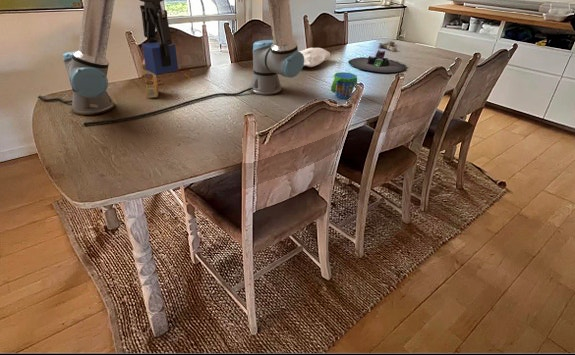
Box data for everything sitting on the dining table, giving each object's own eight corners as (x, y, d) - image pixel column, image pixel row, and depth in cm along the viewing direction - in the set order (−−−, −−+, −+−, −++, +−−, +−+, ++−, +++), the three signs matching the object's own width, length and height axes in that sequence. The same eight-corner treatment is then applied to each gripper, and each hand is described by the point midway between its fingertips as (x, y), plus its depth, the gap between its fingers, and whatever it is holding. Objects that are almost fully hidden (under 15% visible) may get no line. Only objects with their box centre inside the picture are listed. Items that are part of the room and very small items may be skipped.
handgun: (406, 44, 264) (388, 40, 272) (394, 47, 252) (376, 43, 260) (405, 48, 265) (387, 44, 273) (394, 52, 254) (375, 47, 262)
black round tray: (418, 67, 219) (420, 52, 215) (377, 75, 202) (379, 59, 197) (375, 58, 244) (377, 43, 239) (336, 64, 226) (337, 49, 222)
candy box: (157, 97, 164) (152, 63, 155) (147, 98, 163) (141, 63, 155) (158, 91, 171) (153, 57, 163) (149, 91, 170) (143, 58, 162)
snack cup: (348, 90, 181) (350, 70, 176) (362, 97, 174) (365, 76, 168) (323, 95, 174) (325, 74, 168) (337, 102, 166) (340, 80, 161)
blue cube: (156, 75, 119) (151, 48, 114) (146, 69, 123) (141, 43, 119) (178, 70, 124) (175, 44, 119) (168, 65, 128) (164, 40, 123)
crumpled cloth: (269, 61, 216) (271, 46, 210) (311, 52, 236) (313, 38, 230) (296, 77, 203) (298, 61, 198) (337, 66, 223) (341, 52, 218)
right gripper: (177, -11, 106) (186, 68, 118) (146, -17, 118) (157, 54, 131) (153, -10, 101) (165, 72, 114) (123, -17, 114) (137, 58, 126)
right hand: (161, 62), depth 122 cm, fingers closed on blue cube, 7 cm apart
